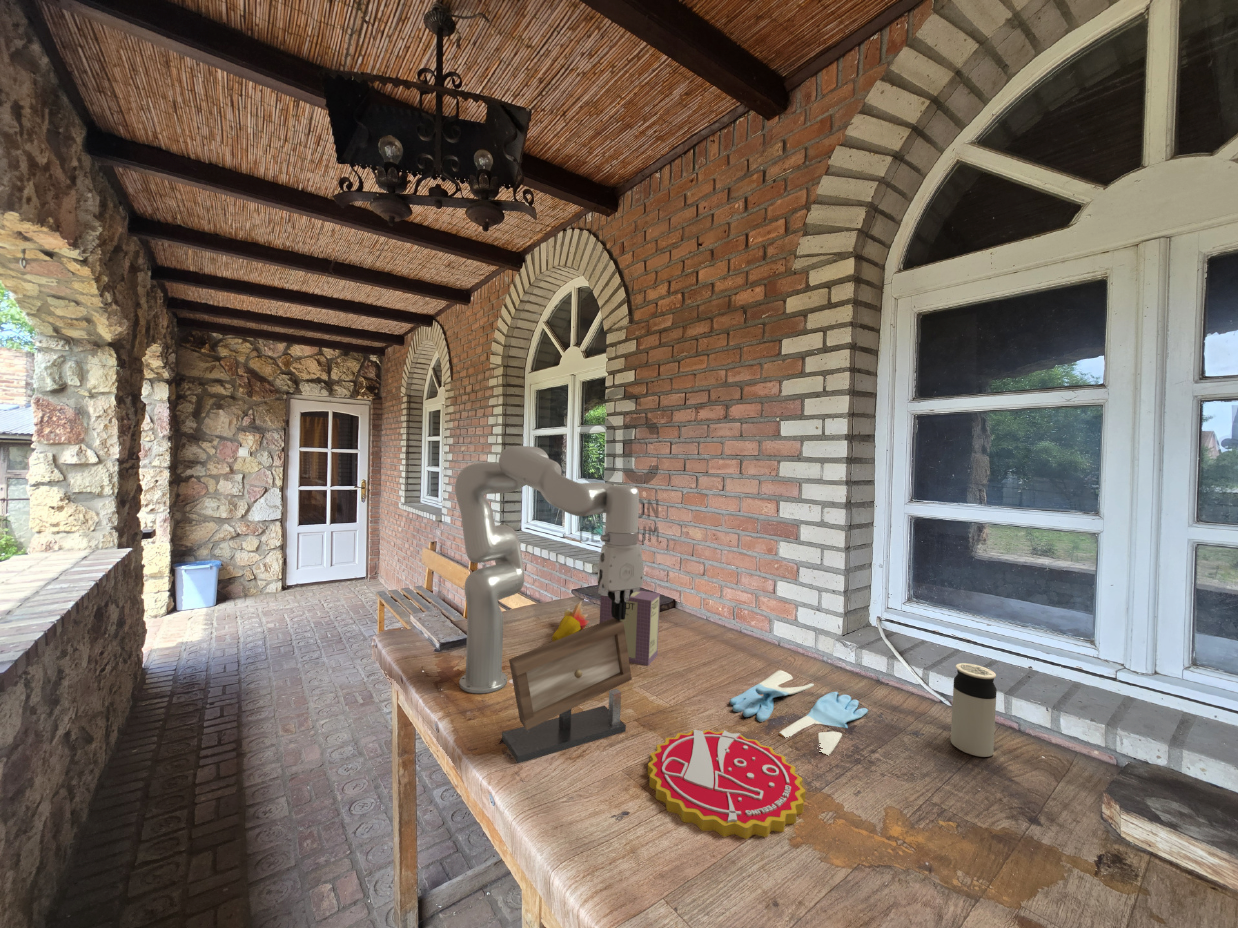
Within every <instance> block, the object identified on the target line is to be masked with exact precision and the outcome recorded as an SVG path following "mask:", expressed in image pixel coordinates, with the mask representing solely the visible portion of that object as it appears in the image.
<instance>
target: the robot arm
mask: <svg viewBox="0 0 1238 928" xmlns="http://www.w3.org/2000/svg"><path fill="white" fill-rule="evenodd" d="M525 486H528V487H529V488H531V489H534V490H536V491H538V492H540V494H541V496H542V497H543V499H544V500H545V501H546V502H547V503H549V505H551V506H553V507H555V508H557V509H559V510H560V511H562V512H564V513H567V514H569V515H572V516H575V517H587V516H593V515H601V514H605V524H604V525H605V529H604V530H605V531H604V534H601V535H600V537H599V538H600V541H601V542H603V543H604V544H602V547H601V550H600V554H599V559H598V566H597V567H598V569H597V585H598V591H597V594H598V595H600V596H601V595H603V596H608V597H609V598H610V600H612V607H611V614H612V617H613V618H615V619H617V620H621V619H622V620H624V619H625V614H626V602H628V600H629V597H630V596H631V594H632V593H634V592H637V591H639V590H640V589H641V587H643V584H644V561H643V560H644V559H643V551H642V547H641V545H640V544H639V543H638V538H639V537H638V535H639V514H640V512H639V511H640V509H639V508H640V492H639V489H638V488H637V487H636V486H634V485H625V484H623V485H622V484H620V485H619V484H618V485H614V484H611V483H605V482H582V483H581V482H577V481H575V480H572V479H570V478H568V477H566V476H563V475H562V467H561V465H560V464H559V463H558V462H557V461H555V460H553V459H551V458H550V457H549V455H548V454H547V452H546V451H545V450H544V449H542V448H541V447H538V446H537V447H536V446H528V445H527V446H524V445H513V446H508V447H507V448H505V449H504V450H502V452H501V453H500V455H499V458H498V462H480V463H479V462H478V463H472V464H469V465H467V466H465V467H463V469H461V470H460V472H459V473H458V475H457V476H456V480H455V485H454V493H455V498H456V500H457V501H456V502H457V504H458V508H459V511H460V512H459V513H460V517H461V525H462V526H461V527H462V534H463V540H464V548H465V549H464V550H465V553H466V556H467V558H468V559H469V561H470V562H472V563H475V564H476V563H477V564H482V563H487V562H492V561H494V562H495V564H494V565H489V566H485V567H482V568H481V567H480V568H478V569H476V570H473V571H472V572H471V573H470V574H469V575H468V576H467V578H466V579H465V583H464V594H465V601H466V613H467V616H466V617H467V620H466V621H467V623H466V650H465V651H466V652H465V654H466V655H465V657H466V658H465V674H464V675H462V676H461V677H460V679H459V683H458V685H459V687H460V689H462V690H463V691H464V692H466V693H471V694H486V693H487V694H489V693H492V692H497V691H499V690H500V689H502V688H504V687H505V686H506V685H507V684H508V683H507V682H508V676H507V673H505V672H503V669H502V668H503V646H504V645H503V644H504V643H503V642H504V614H503V611H502V609H501V607H500V605H499V601H501V600H503V599H505V598H509V597H512V596H514V595H517V594H518V593H519V592H520V591H521V590H522V589H523V587H524V583H525V571H524V564H523V557H522V556H523V555H522V549H521V542H520V539H519V536H518V533H517V532H516V530H514V529H513V528H512V527H511V526H509V525H506V524H499V525H497V524H495V517H494V510H493V508H492V506H491V504H490V502H489V501H488V499H487V498H486V497H485V496H486V495H490V494H491V495H493V494H508V493H513V492H515V491H517V490H519V489H522V488H523V487H525ZM640 591H641V590H640Z"/></svg>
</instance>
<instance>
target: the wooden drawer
mask: <svg viewBox="0 0 1238 928" xmlns="http://www.w3.org/2000/svg"><path fill="white" fill-rule="evenodd" d="M508 662H509V668H510V673H511V678H512V685H513V690H514V695H515V701H516V708H517V712H518V718H519V722H520V724H521V725H523V726H522V727H525V729H526V730H528V729H530V728H532V727H534V726H536V725H538V724H540V723H543V722H545V721H547V720H551V719H554V718H556V717H557V716H559V714H561V713H563V712H565V711H567V710H570V709H571V710H572V709H574V708H575V707H577V706H580V705H582V704H584V703H585V702H586V703H587V702H588V701H590V700H592V699H594V698H596V697H599V696H601V695H604V694H605V693H607V692H609V690H613V689H616V688H617V687H619V686H621V685H623V684H625V683H628V682H630V681H632V679H633V677H632V671H631V665H630V663H631V662H629V657H628V650H627V643H626V636H625V629H624V623H623V622H622V621H620V620H617V619H615V618H612V619H609V620H607V621H604V622H602V623H600V622H599V623H597V624H595V625H591V626H589V627H587V628H586V627H585V628H584V629H583V630H580V631H579V632H576V633H574V634H571V635H569V636H566V637H564V638H561V639H559V640H556V641H554V642H553V641H552V642H549V643H546V644H544V645H542V646H539V647H537V648H534V649H531V650H529V651H527V652H524V653H522V654H519V655H516V656H514V657H511V658H509V659H508Z"/></svg>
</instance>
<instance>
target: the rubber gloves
mask: <svg viewBox="0 0 1238 928" xmlns="http://www.w3.org/2000/svg"><path fill="white" fill-rule="evenodd" d="M793 679H794V678H793V676H792V675H791V674H790V673H789V672H786V671H784V670H781V669H779V670H777V671H775V672H774V673H772V674H771V675H770V676H768V677H766V678H765V679H764V680H762V681H761V682H759V683H758V684H755V685H753V686H751V687H750V688H748V689H747V690H745V691H744V692H742V693H740V694H738V695H737V696H734V697H732V698H730V699H729V704H730V705H731V706H732V707H731V708H732V711H733V712H735V713H741V712H742V715H743V716H744V717H745V718H749V717H752V716H755V715H756V720H757V721H758V722H759V723H762V722H763V723H764V722H765V721H767V720H768V719H769V718H770V716H772V713H773V711H774V708H775V707H774V706H775V705H774V703H775V702H774V698H777V697H785V696H786V697H787V696H788V695H795V694H799V693H802V692H804V691H806V690H809V689H810V688H812V687H814V686H815V684H814V683H808V684H806V685H802V686H795V687H781V686H780V685H782V684H784V683H786V682H788V681H791V680H793ZM839 694H840V693H839V692H838V691H832V692H831V691H830V692H829V693H826V694H825V695H823V696H821V697H819V698H818V699H817V701H816V702H815V704H814V705H813V706H812V708H811V709H810V711H809V712H808V713H807V715H805V716H803V717H801V718H800V719H798V720H797V721H795V722H793V723H791V724H789V725H788V726H787V727H785V728H783V729H782V730H781V731H779V732H778V735H779V736H780V737H782V738H784V737H785V738H784V739H787V738H786V737H788V738H790V737H792V736H793V735H794V734H797V733H798V732H800V731H801V730H802V729H805V728H807V727H810V726H811V725H814V724H815V725H823V726H824V725H826V726H832V727H837V728H844V729H848V728H849V726H848V723H849V722H852V721H856V720H858V719H861V718H863V717H864V716H865V715H867V714H868V713H869V709H867V708H866V707H862V708H858V707H859V704H860V702H859V700H857V699H852V697H851V696H850V695H848V694H841V695H839ZM789 736H790V737H789ZM842 736H843V733H841V732H839V731H838V732H837V731H826V732H825V731H823V732H818V746H819V745H820V746H819V747H821V748H823V749H820V750H821V751H819V752H822V753H823V754H822V753H821V754H822V755H824V754H826V755H828V756H827V757H829V756H830V755H831V754H832V752H833V751H834V749H835V748H836V746H837V745H838V744H839V741H840V740H841V738H842ZM819 743H821V744H819ZM819 752H818V753H819ZM829 754H830V755H829ZM826 755H825V756H826Z"/></svg>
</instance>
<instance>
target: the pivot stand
mask: <svg viewBox="0 0 1238 928" xmlns="http://www.w3.org/2000/svg"><path fill="white" fill-rule="evenodd" d="M608 692H609V693H608V707H607V706H605V705H601V706H598V707H594V708H590V709H586V710H582V711H579V712H574V713H572V709H570V710H567V711H565V712H563V713H561V714H559V715H558V717H554V718H551V719H549V720H547V721H545V722H543V723H540V724H538V725H536V726H534V727H532V728H530V729H528V730H526V729H525V727H524V726H521V727H516V728H513V729H509V730H505V731H501V741H502V742H503V743H504V745H505V746H506V748H507V749H508V751H509V753H510V754H511V756H512V757H513V760H514V761H515V762H516V764H521V763H525V762H528V761H530V760H534V759H537V758H540V757H541V758H542V757H544V756H547V755H551V754H554V753H558V752H561V751H564V750H568V749H571V748H574V747H578V746H581V745H585V744H589V743H590V742H594V741H598V740H601V739H604V738H609V737H611V736H614V735H618V734H622V733H625V732H626V728H627V725H626V724H625V722H624V721H622V720H621V706H622V704H621V703H622V692H621V691H620V690H619V689H618V688H613V689H611V690H609V691H608Z"/></svg>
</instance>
